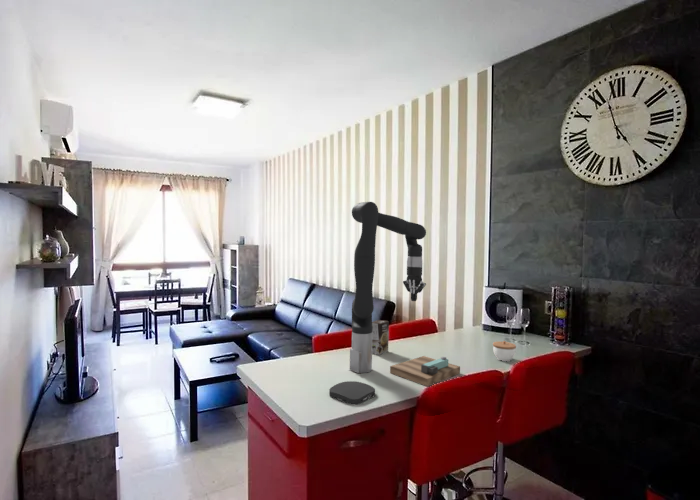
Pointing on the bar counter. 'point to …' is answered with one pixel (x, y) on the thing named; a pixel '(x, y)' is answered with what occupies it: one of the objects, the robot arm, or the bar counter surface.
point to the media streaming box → (352, 392)
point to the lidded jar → (504, 350)
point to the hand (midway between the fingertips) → (413, 300)
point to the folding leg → (435, 364)
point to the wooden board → (414, 373)
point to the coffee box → (380, 336)
